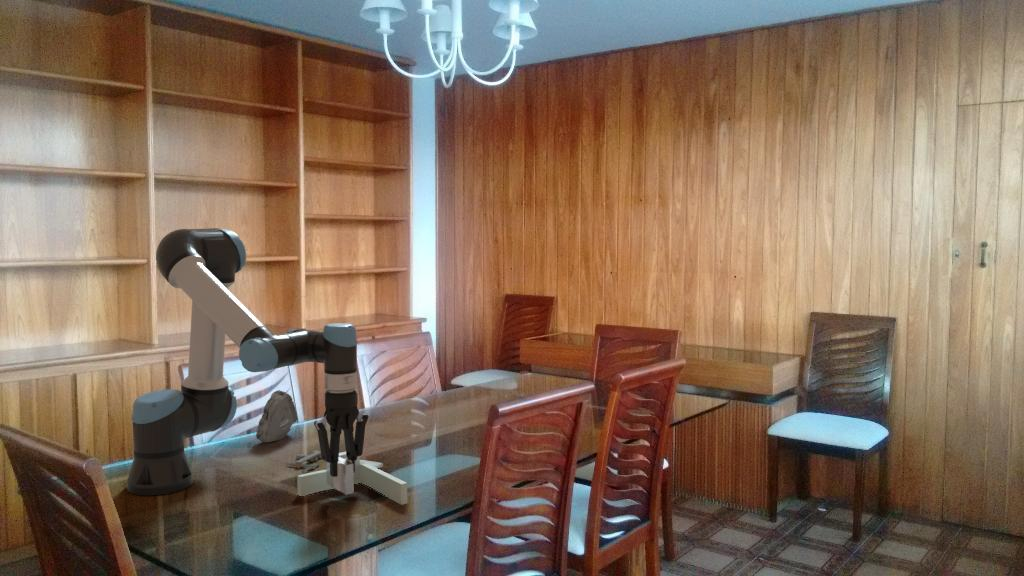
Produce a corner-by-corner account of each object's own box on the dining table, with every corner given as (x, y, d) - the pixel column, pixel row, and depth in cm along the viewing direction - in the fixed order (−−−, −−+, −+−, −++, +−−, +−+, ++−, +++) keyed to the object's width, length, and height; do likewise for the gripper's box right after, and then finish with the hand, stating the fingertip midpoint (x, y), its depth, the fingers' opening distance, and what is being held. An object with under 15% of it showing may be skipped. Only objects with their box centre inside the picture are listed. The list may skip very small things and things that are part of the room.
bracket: (326, 483, 194) (326, 455, 194) (356, 477, 199) (355, 449, 199) (346, 494, 186) (345, 465, 186) (376, 487, 192) (375, 458, 191)
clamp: (306, 448, 229) (336, 452, 226) (306, 456, 229) (336, 460, 226) (273, 463, 215) (304, 468, 211) (273, 471, 215) (305, 476, 212)
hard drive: (356, 476, 207) (383, 462, 218) (330, 471, 211) (358, 458, 222) (356, 482, 207) (383, 468, 219) (330, 477, 211) (358, 464, 222)
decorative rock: (285, 432, 253) (284, 385, 251) (302, 434, 250) (302, 386, 249) (250, 445, 238) (249, 395, 236) (268, 448, 235) (267, 397, 234)
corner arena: (338, 521, 179) (337, 499, 179) (297, 495, 195) (297, 475, 195) (407, 503, 190) (407, 482, 190) (363, 480, 207) (363, 461, 206)
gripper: (318, 397, 180) (320, 499, 182) (377, 388, 190) (378, 485, 192) (304, 391, 186) (306, 490, 188) (362, 383, 195) (363, 477, 197)
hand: (342, 487), depth 190 cm, fingers closed on bracket, 2 cm apart
